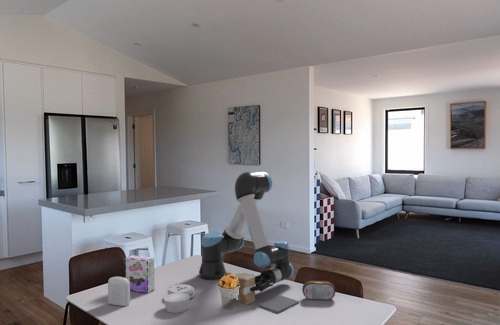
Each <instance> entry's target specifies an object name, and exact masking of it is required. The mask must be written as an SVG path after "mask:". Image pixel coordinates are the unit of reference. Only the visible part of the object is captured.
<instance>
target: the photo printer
mask: <svg viewBox="0 0 500 325" xmlns="http://www.w3.org/2000/svg"><path fill="white" fill-rule="evenodd" d="M107 303H108V304H109V305H114V306H119V307H120V306H121V307H128V306H129V305H130V304H131V291H130V281H129V280H128V279H126V277H122V276H112V277H110V278H109V279H108V282H107Z"/></svg>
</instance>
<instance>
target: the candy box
mask: <svg viewBox="0 0 500 325" xmlns="http://www.w3.org/2000/svg"><path fill="white" fill-rule="evenodd" d="M124 261H125V262H124V263H125V278H126V279H128V280H129V281H130V292H137V293H142V294H150V293H152V292H153V291H155V290H156V288H155V257H148V256H140V255H129V256H127V257H125V260H124Z"/></svg>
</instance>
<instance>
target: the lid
mask: <svg viewBox="0 0 500 325" xmlns="http://www.w3.org/2000/svg"><path fill="white" fill-rule="evenodd" d="M166 292H167V295H169V294H173V293H186V294H188V295H189V296H190V299H192V298H194V297H195V288H194V287H193V285H189V284H182V283H181V284H176V285H175V284H174V285H173V286H170V287H169V288H168V289H167V291H166Z"/></svg>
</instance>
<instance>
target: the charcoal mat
mask: <svg viewBox="0 0 500 325" xmlns="http://www.w3.org/2000/svg"><path fill="white" fill-rule="evenodd" d="M298 304H300V301H299V300H296V299H293V298H290V297H287V296H284V295H281V294H279V295H277V296H275V297H273V298H270V299H269V300H266V301H264V302H261V303H259V304H258V307H260V308H263V309H265V310H267V311H270V312H272V313H275V314H279V313H282V312H284V311H286V310H288V309H290V308H292V307H294V306H296V305H298Z"/></svg>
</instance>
